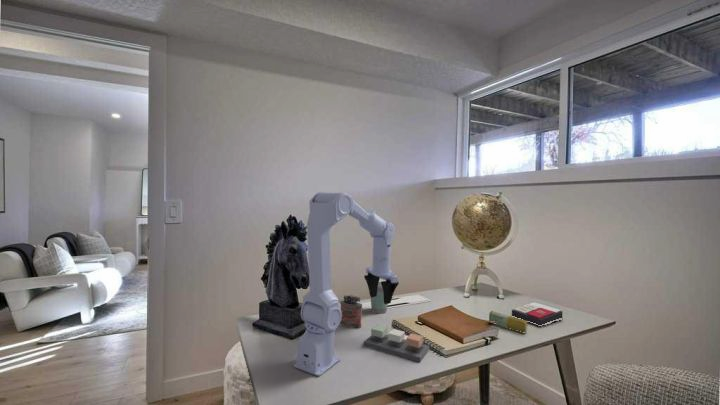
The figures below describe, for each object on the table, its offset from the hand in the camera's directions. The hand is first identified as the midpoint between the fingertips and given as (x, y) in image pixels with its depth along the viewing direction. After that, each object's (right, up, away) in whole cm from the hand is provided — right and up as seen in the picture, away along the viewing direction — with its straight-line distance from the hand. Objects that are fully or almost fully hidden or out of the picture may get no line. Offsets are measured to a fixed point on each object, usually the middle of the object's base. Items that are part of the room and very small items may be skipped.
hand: (380, 299), depth 99 cm
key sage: (-1, -8, -8) cm, 11 cm away
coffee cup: (+1, -10, +19) cm, 22 cm away
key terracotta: (+9, -8, -14) cm, 18 cm away
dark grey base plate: (+4, -10, -11) cm, 16 cm away
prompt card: (+7, -10, -5) cm, 14 cm away
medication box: (+45, -12, +7) cm, 47 cm away
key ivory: (+4, -8, -11) cm, 14 cm away
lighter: (-10, -10, +4) cm, 15 cm away
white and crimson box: (+60, -13, +16) cm, 64 cm away
